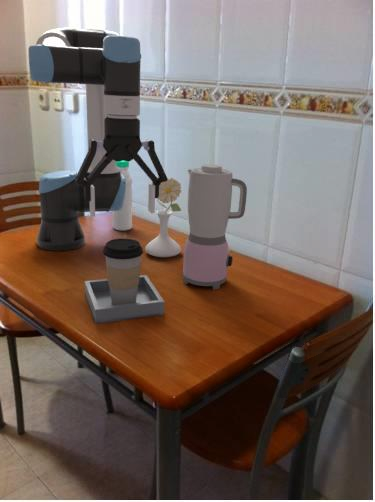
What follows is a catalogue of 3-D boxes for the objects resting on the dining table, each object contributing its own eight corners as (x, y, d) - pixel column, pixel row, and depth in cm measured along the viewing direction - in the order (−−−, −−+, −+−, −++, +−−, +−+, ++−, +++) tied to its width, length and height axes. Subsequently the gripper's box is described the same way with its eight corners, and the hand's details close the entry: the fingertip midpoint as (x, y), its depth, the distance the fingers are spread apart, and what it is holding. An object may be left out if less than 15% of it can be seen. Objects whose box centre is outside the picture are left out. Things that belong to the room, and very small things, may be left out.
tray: (85, 293, 117) (84, 281, 116) (146, 287, 122) (146, 275, 121) (95, 323, 103) (95, 309, 102) (163, 314, 108) (164, 301, 107)
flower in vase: (137, 252, 146) (138, 174, 138) (165, 245, 154) (167, 171, 145) (163, 265, 137) (165, 182, 129) (191, 257, 145) (195, 178, 136)
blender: (177, 286, 123) (181, 167, 112) (187, 270, 134) (192, 160, 123) (235, 294, 120) (246, 173, 109) (241, 277, 131) (251, 165, 120)
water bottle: (125, 224, 174) (125, 157, 165) (135, 229, 169) (136, 160, 160) (109, 227, 170) (108, 159, 161) (119, 232, 165) (118, 162, 156)
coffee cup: (136, 312, 107) (136, 252, 102) (98, 307, 109) (96, 248, 103) (147, 295, 116) (148, 239, 110) (111, 291, 117) (110, 235, 112)
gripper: (63, 117, 90) (68, 221, 97) (183, 119, 98) (179, 214, 105) (59, 113, 96) (64, 211, 104) (172, 116, 105) (169, 206, 112)
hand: (122, 213), depth 105 cm, fingers open, 13 cm apart
